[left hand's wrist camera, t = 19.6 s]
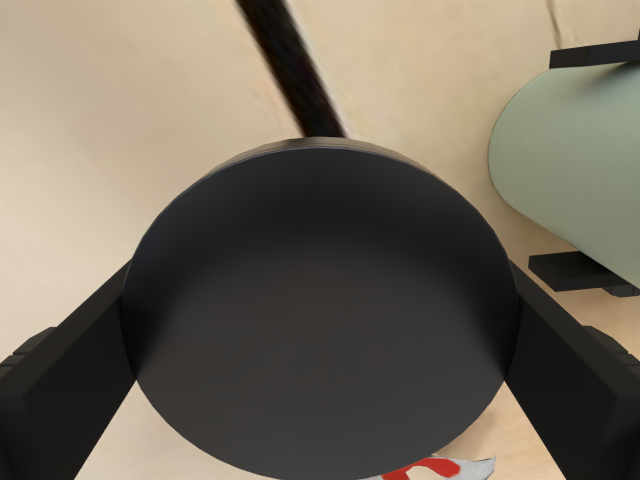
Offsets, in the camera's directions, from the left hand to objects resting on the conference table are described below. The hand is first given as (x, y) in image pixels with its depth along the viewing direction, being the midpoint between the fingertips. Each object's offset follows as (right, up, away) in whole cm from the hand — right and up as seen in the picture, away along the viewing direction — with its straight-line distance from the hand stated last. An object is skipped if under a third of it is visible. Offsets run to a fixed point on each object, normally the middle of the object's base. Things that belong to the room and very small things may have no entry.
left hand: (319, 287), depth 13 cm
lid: (0, -1, -3) cm, 3 cm away
